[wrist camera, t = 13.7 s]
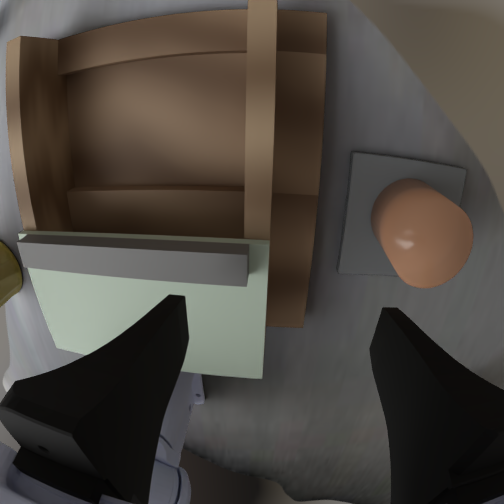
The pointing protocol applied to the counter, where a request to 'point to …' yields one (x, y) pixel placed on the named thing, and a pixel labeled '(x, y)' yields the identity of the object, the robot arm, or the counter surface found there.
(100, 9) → the counter surface
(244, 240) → the cover
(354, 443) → the counter surface
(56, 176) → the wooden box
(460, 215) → the tan rounded cylinder
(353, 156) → the coaster
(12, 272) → the vase
